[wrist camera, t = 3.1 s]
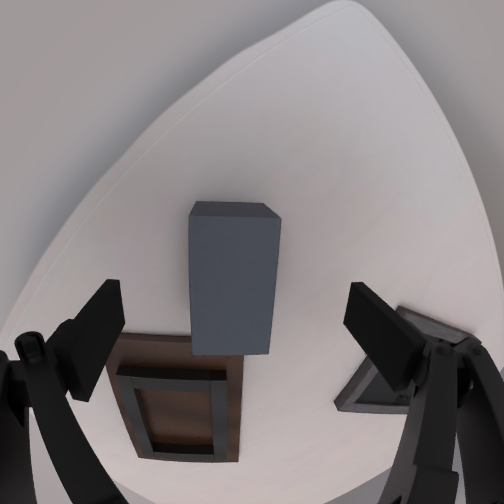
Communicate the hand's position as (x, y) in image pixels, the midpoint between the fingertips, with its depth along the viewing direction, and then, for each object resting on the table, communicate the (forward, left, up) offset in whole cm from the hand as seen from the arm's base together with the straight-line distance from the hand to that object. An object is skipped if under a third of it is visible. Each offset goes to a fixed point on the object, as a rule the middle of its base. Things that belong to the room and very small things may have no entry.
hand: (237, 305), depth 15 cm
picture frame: (+23, -14, -8) cm, 28 cm away
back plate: (-5, -17, -7) cm, 19 cm away
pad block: (0, 0, -7) cm, 7 cm away
